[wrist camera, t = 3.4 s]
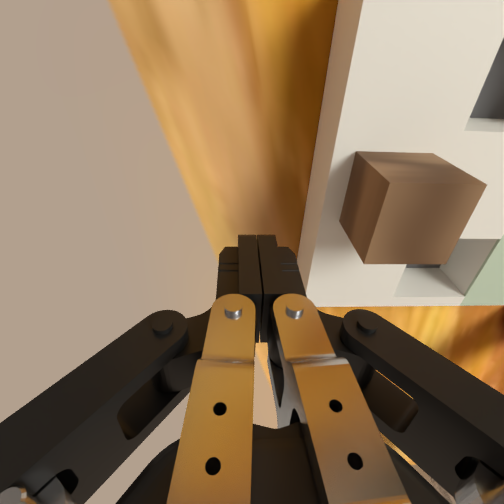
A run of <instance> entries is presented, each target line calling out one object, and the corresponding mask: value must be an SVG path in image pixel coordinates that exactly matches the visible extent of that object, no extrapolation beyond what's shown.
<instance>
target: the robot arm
mask: <svg viewBox="0 0 504 504" xmlns="http://www.w3.org/2000/svg"><path fill="white" fill-rule="evenodd" d="M259 331H260V342H267V343H268V360H267V362H268V368H269V374H270V379H271V384H272V390H273V395H274V401H275V406H276V411H277V419H278V420H277V421H278V429H272V428H268V427H264V426H260V425H256V424H253V393H254V357H255V344H256V343H259ZM376 370H378V371H379V372H380V373H381V374H383V375H384V376H385V377H387V378H388V379H389V380H391V381H392V382H393V383H395V384H396V385H397V386H399V387H400V388H401V389H402V390H404V391H405V392H406V393H408V394H409V395H410V396H411V397H412V398H413V399H412V398H411V397H409V396H408V395H407V394H405V393H404V392H403V391H402V390H400V389H399V388H398V387H396V386H395V385H394V384H392V383H391V382H390V381H389V380H387V379H386V378H385V377H383V376H382V375H381V374H379V373H378V372H377V371H376ZM189 392H190V395H189V399H188V404H187V409H186V414H185V418H184V424H183V428H182V432H181V437H180V439H178V440H177V441H175V442H174V443H172V444H170V445H169V446H168V447H166V448H165V449H164V450H162V451H161V452H160V453H159V454H158V455H157V456H156V457H155V458H154V459H153V460H152V461H151V462H150V463H149V464H148V465H147V466H146V468H145V469H144V470H143V471H142V472H141V474H140V475H139V476H138V477H137V479H136V480H135V481H134V482H133V483H132V484H131V486H130V487H129V488H128V489H127V490H126V492H125V493H124V494H123V495H122V496H121V498H120V499H119V500H118V501H117V503H116V504H451V503H450V502H448V501H447V500H446V499H445V498H444V497H443V496H442V495H441V494H440V493H439V492H438V491H437V490H436V489H435V488H434V487H433V486H432V485H431V484H430V483H429V482H427V481H426V480H425V479H424V478H423V477H422V476H421V475H420V474H419V473H418V472H417V471H416V470H415V469H414V468H413V467H412V466H411V465H410V464H409V463H408V462H407V461H406V460H405V459H403V458H402V457H401V456H400V455H399V454H398V453H397V452H396V451H395V450H393V449H392V448H391V447H389V446H388V445H387V444H385V443H384V441H383V439H382V437H381V435H380V432H381V433H382V434H383V435H384V436H386V437H387V438H388V439H389V440H390V441H391V442H392V443H393V444H394V445H396V446H397V447H398V448H399V449H400V450H401V451H402V452H403V453H405V454H406V455H407V456H408V457H409V458H410V459H411V460H412V461H413V462H415V463H416V464H417V465H418V466H419V467H420V468H421V469H422V470H423V471H425V472H426V473H427V474H428V475H429V476H430V477H431V478H432V479H434V480H435V481H436V482H437V483H438V484H439V485H440V486H441V487H442V488H444V489H445V490H446V491H447V492H448V493H449V494H450V495H451V496H453V497H454V498H455V500H456V504H504V395H503V394H501V393H500V392H498V391H497V390H495V389H493V388H492V387H490V386H489V385H487V384H486V383H484V382H482V381H481V380H479V379H478V378H476V377H475V376H473V375H471V374H470V373H468V372H467V371H465V370H464V369H462V368H461V367H459V366H457V365H456V364H454V363H453V362H451V361H450V360H448V359H446V358H445V357H443V356H442V355H440V354H439V353H437V352H435V351H434V350H432V349H431V348H429V347H428V346H426V345H424V344H423V343H421V342H420V341H418V340H417V339H415V338H414V337H412V336H410V335H409V334H407V333H406V332H404V331H403V330H401V329H399V328H398V327H396V326H395V325H393V324H392V323H390V322H388V321H387V320H385V319H384V318H382V317H381V316H379V315H377V314H376V313H373V312H371V311H368V310H362V309H356V310H352V311H349V312H348V313H347V314H346V315H345V316H344V318H341V317H337V316H333V315H329V314H325V313H323V312H321V311H319V310H317V309H316V307H315V305H314V303H313V302H312V301H311V300H310V299H308V298H307V296H306V292H305V289H304V285H303V282H302V278H301V274H300V272H299V267H298V265H297V260H296V256H295V254H294V253H293V252H292V251H291V250H290V249H289V248H288V247H278V246H277V242H276V237H275V235H257V240H256V235H238V247H225V248H224V249H223V250H222V252H221V253H220V254H219V267H218V280H217V294H216V301H215V302H214V303H213V305H212V307H211V308H210V309H209V310H208V311H206V312H205V313H203V314H201V315H197V316H194V317H191V318H187V319H186V318H185V317H184V316H183V315H182V314H181V313H179V312H177V311H173V310H162V311H158V312H155V313H153V314H151V315H149V316H147V317H146V318H145V319H143V320H142V321H141V322H139V323H138V324H136V325H135V326H134V327H132V328H131V329H129V330H128V331H127V332H125V333H124V334H123V335H121V336H120V337H119V338H118V339H116V340H114V341H113V342H112V343H110V344H109V345H107V346H106V347H105V348H103V349H102V350H101V351H99V352H98V353H96V354H95V355H94V356H92V357H91V358H89V359H88V360H87V361H85V362H84V363H83V364H81V365H80V366H78V367H77V368H76V369H74V370H73V371H72V372H70V373H69V374H67V375H66V376H65V377H63V378H62V379H60V380H59V381H58V382H56V383H55V384H54V385H52V386H51V387H49V388H48V389H47V390H45V391H44V392H43V393H41V394H40V395H38V396H37V397H36V398H34V399H33V400H31V401H30V402H29V403H27V404H26V405H25V406H23V407H22V408H20V409H19V410H18V411H16V412H15V413H13V414H12V415H11V416H9V417H8V418H7V419H5V420H4V421H3V422H1V423H0V504H84V503H85V502H86V501H87V500H88V499H89V498H90V497H91V496H92V495H93V494H94V493H95V492H96V491H97V489H98V488H99V487H100V486H101V485H102V484H103V483H104V482H105V481H106V480H107V479H108V478H109V477H110V476H111V475H112V474H113V473H114V472H115V470H116V469H117V468H118V467H119V466H120V465H121V464H122V463H123V462H124V461H125V460H126V459H127V458H128V457H129V456H130V455H131V453H132V452H133V451H134V450H135V449H136V448H137V447H138V446H139V445H140V444H141V443H142V442H143V441H144V440H145V439H146V438H147V437H148V436H149V435H150V433H151V432H152V431H153V430H154V429H155V428H156V427H157V426H158V425H159V424H160V423H161V422H162V421H163V420H164V419H165V418H166V417H167V415H169V413H170V412H171V411H172V410H173V409H174V408H175V407H176V406H177V405H178V404H179V403H180V402H181V401H182V400H183V399H184V398H185V397H186V395H187V394H188V393H189ZM379 431H380V432H379Z"/></svg>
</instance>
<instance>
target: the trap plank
mask: <svg viewBox="0 0 504 504" xmlns="http://www.w3.org/2000/svg"><path fill="white" fill-rule="evenodd" d="M356 151H369V152H407V153H434V154H435V155H437V156H439V157H440V158H442V159H444V160H446V161H447V162H449V163H451V164H453V165H454V166H456V167H458V168H459V169H461V170H463V171H465V172H466V173H468V174H470V175H472V176H473V177H475V178H477V179H479V180H480V181H482V182H484V183H485V184H487V186H486V188H485V190H484V192H483V194H482V196H481V198H480V200H479V202H478V204H477V206H476V208H475V209H474V211H473V213H472V215H471V217H470V219H469V221H468V223H467V225H466V227H465V229H464V231H463V232H462V234H461V236H460V238H459V240H458V242H457V244H456V246H455V248H454V250H453V252H452V253H451V255H450V257H449V259H448V261H447V263H446V264H363V262H362V260H361V259H360V257H359V255H358V253H357V252H356V250H355V248H354V247H353V245H352V243H351V241H350V240H349V238H348V236H347V234H346V233H345V231H344V229H343V228H342V226H341V224H340V222H339V220H340V215H341V211H342V207H343V203H344V199H345V194H346V190H347V186H348V182H349V178H350V173H351V169H352V165H353V161H354V157H355V152H356ZM297 265H298V267H299V272H300V274H301V278H302V282H303V285H304V289H305V292H306V296H307V298H308V299H310V300H311V301H312V302H313V303H314V305H315V307H356V306H470V305H504V0H338V6H337V13H336V19H335V25H334V31H333V38H332V44H331V50H330V57H329V63H328V69H327V75H326V82H325V88H324V94H323V100H322V107H321V113H320V119H319V125H318V132H317V138H316V144H315V150H314V157H313V163H312V169H311V176H310V182H309V188H308V194H307V201H306V207H305V213H304V219H303V226H302V232H301V238H300V244H299V251H298V257H297Z"/></svg>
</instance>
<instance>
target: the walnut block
mask: <svg viewBox="0 0 504 504" xmlns="http://www.w3.org/2000/svg"><path fill="white" fill-rule="evenodd" d="M486 186H487V184H485V183H484V182H482V181H480V180H479V179H477V178H475V177H473V176H472V175H470V174H468V173H466V172H465V171H463V170H461V169H459V168H458V167H456V166H454V165H453V164H451V163H449V162H447V161H446V160H444V159H442V158H440V157H439V156H437V155H435V154H434V153H407V152H369V151H356V152H355V157H354V161H353V165H352V169H351V173H350V178H349V182H348V186H347V190H346V194H345V199H344V203H343V207H342V211H341V215H340V220H339V222H340V224H341V226H342V228H343V229H344V231H345V233H346V234H347V236H348V238H349V240H350V241H351V243H352V245H353V247H354V248H355V250H356V252H357V253H358V255H359V257H360V259H361V260H362V262H363V264H446V263H447V261H448V259H449V257H450V255H451V253H452V252H453V250H454V248H455V246H456V244H457V242H458V240H459V238H460V236H461V234H462V232H463V231H464V229H465V227H466V225H467V223H468V221H469V219H470V217H471V215H472V213H473V211H474V209H475V208H476V206H477V204H478V202H479V200H480V198H481V196H482V194H483V192H484V190H485V188H486Z"/></svg>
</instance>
